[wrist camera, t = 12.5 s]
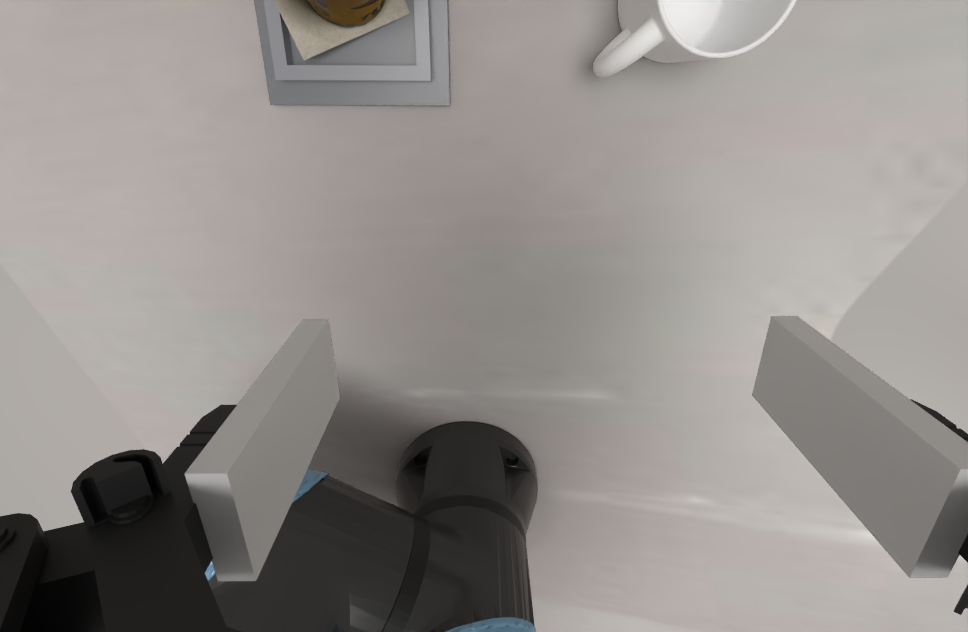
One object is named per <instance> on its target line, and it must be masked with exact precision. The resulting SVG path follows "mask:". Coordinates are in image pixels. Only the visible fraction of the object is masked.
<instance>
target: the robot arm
mask: <svg viewBox="0 0 968 632" xmlns="http://www.w3.org/2000/svg"><path fill="white" fill-rule="evenodd" d="M752 396H753V397H754V398H755V399H756V400H757V402H758V403H759V404H760V405H761V406H762V407H763V409H764V410H765V411H766V412H767V413H768V414H769V416H770V417H771V418H772V419H773V420H774V421H775V422H776V424H777V425H778V426H779V427H780V428H781V429H782V431H783V432H784V433H785V434H786V435H787V436H788V438H789V439H790V440H791V441H792V442H793V443H794V445H795V446H796V447H797V448H798V449H799V450H800V451H801V453H802V454H803V455H804V456H805V457H806V458H807V460H808V461H809V462H810V463H811V464H812V465H813V467H814V468H815V469H816V470H817V471H818V472H819V473H820V475H821V476H822V477H823V478H824V479H825V480H826V482H827V483H828V484H829V485H830V486H831V487H832V489H833V490H834V491H835V492H836V493H837V494H838V496H839V497H840V498H841V499H842V500H843V501H844V502H845V504H846V505H847V506H848V507H849V508H850V509H851V511H852V512H853V513H854V514H855V515H856V516H857V518H858V519H859V520H860V521H861V522H862V523H863V525H864V526H865V527H866V528H867V529H868V530H869V531H870V533H871V534H872V535H873V536H874V537H875V538H876V540H877V541H878V542H879V543H880V544H881V545H882V547H883V548H884V549H885V550H886V551H887V552H888V554H889V555H890V556H891V557H892V558H893V559H894V560H895V562H896V563H897V564H898V565H899V566H900V567H901V569H902V570H903V571H904V572H905V573H906V574H907V576H908V577H909V578H943V577H948V576H949V574H950V572H951V570H952V568H953V566H954V564H955V562H956V560H957V558H958V556H959V554H960V555H961V556H962V557H963V558H964V559H965V560H966V561H967V562H968V434H967V433H965V432H964V431H963V430H961V429H957V428H956V425H955V424H953V423H952V422H950V421H949V420H947V419H946V418H945V417H943V416H942V415H941V414H939V413H938V412H937V411H934V410H932V409H930V408H928V407H926V406H924V405H922V404H920V403H918V402H916V401H914V400H911V399H908V398H907V397H906V396H904V395H903V394H902V393H900V392H899V391H898V390H896V389H895V388H893V387H892V386H891V385H889V384H888V383H887V382H885V381H884V380H883V379H881V378H880V377H879V376H877V375H876V374H875V373H873V372H872V371H871V370H869V369H868V368H867V367H865V366H864V365H862V364H861V363H860V362H858V361H857V360H856V359H854V358H853V357H852V356H850V355H849V354H848V353H846V352H845V351H844V350H842V349H841V348H840V347H838V346H837V345H835V344H834V343H833V342H831V341H830V340H829V339H827V338H826V337H825V336H823V335H822V334H821V333H819V332H818V331H817V330H815V329H814V328H813V327H811V326H810V325H808V324H807V323H806V322H804V321H803V320H802V319H800V318H799V317H798V316H771V320H770V324H769V328H768V332H767V336H766V340H765V344H764V348H763V352H762V357H761V361H760V365H759V369H758V373H757V377H756V381H755V385H754V389H753V393H752ZM339 399H340V394H339V387H338V380H337V373H336V366H335V359H334V352H333V345H332V338H331V331H330V324H329V319H303V320H302V321H301V323H300V324H299V325H298V327H297V328H296V329H295V330H294V332H293V333H292V334H291V336H290V337H289V338H288V340H287V341H286V342H285V343H284V345H283V346H282V347H281V349H280V350H279V351H278V353H277V354H276V355H275V357H274V358H273V359H272V360H271V362H270V363H269V364H268V366H267V367H266V368H265V370H264V371H263V372H262V373H261V375H260V376H259V377H258V379H257V380H256V381H255V383H254V384H253V385H252V386H251V388H250V389H249V390H248V392H247V393H246V394H245V396H244V397H243V398H242V399H241V401H240V402H239V403H238V405H220V406H219V407H217V408H216V409H214V410H213V411H211V412H210V413H208V414H207V415H205V416H204V417H202V418H201V419H200V421H199V422H198V423H197V424H196V425H195V427H194V428H193V429H192V430H191V431H190V435H187V436H186V437H185V438H184V440H183V441H182V442H181V443H180V447H177V448H176V449H175V450H174V451H173V453H172V454H171V455H170V456H169V457H168V458H167V460H166V461H165V462H164V463H163V464H162V461H161V458H160V457H159V456H158V455H157V454H156V453H155V452H153V451H148V450H144V449H143V450H130V451H126V452H122V453H118V454H115V455H111V456H109V457H107V458H105V459H103V460H100V461H98V462H96V463H94V464H93V465H92V466H90V467H89V468H87V469H86V470H84V471H83V472H82V473H81V474H80V475H79V476H78V477H77V479H76V480H75V481H74V482H73V486H72V490H71V493H72V495H73V497H74V500H75V502H76V504H77V506H78V509H79V511H80V513H81V516H82V517H83V520H84V522H83V523H79V524H74V525H70V526H66V527H62V528H57V529H53V530H48V531H44V532H43V530H42V528H41V526H40V524H39V522H38V520H37V519H36V518H34V517H33V516H32V515H29V514H20V513H18V514H11V515H6V516H1V517H0V632H536V628H535V627H534V617H533V608H532V598H531V588H530V578H529V569H528V558H527V548H526V532H527V529H528V526H529V523H530V520H531V516H532V513H533V510H534V507H535V504H536V500H537V492H538V485H537V476H536V469H535V465H534V462H533V459H532V457H531V455H530V454H529V452H528V450H527V449H526V448H525V447H524V445H523V444H522V443H521V442H520V441H518V440H517V439H516V438H515V437H513V436H512V435H510V434H509V433H507V432H505V431H503V430H501V429H499V428H496V427H494V426H490V425H487V424H482V423H474V422H458V423H451V424H446V425H442V426H439V427H436V428H434V429H432V430H430V431H428V432H426V433H424V434H423V435H421V436H420V437H418V438H417V439H416V440H415V441H414V442H413V443H412V444H411V445H410V446H409V447H408V449H407V450H406V452H405V453H404V455H403V457H402V459H401V462H400V466H399V471H398V475H397V480H396V496H397V501H398V505H399V507H397V506H395V505H393V504H390V503H388V502H386V501H383V500H381V499H379V498H377V497H374V496H372V495H370V494H367V493H365V492H363V491H361V490H358V489H356V488H354V487H352V486H350V485H347V484H345V483H343V482H341V481H339V480H337V479H334V478H332V477H330V476H328V475H329V474H328V473H326V472H324V471H322V472H318V471H315V470H312V469H309V468H308V467H309V465H310V462H311V460H312V458H313V456H314V454H315V451H316V449H317V447H318V445H319V443H320V441H321V438H322V436H323V434H324V432H325V430H326V427H327V425H328V423H329V421H330V419H331V417H332V414H333V412H334V410H335V408H336V406H337V403H338V401H339ZM965 608H968V585H967V587H966V589H965V590H964V592H963V594H962V596H961V598H960V600H959V601H958V603H957V605H956V607H955V610H954V612H956V613H958V614H960V615H961V614H962V612H963V610H964V609H965Z"/></svg>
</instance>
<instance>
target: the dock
mask: <svg viewBox="0 0 968 632" xmlns="http://www.w3.org/2000/svg"><path fill="white" fill-rule="evenodd" d="M405 1H406V4H407V6H408V9H409V11H410V13H409V14H408V15H405V16H403V17H401V18H399V19H397V20H394V21H392V22H390V23H388V24H386V25H383V26H381V27H379V28H376V29H374V30H372V31H370V32H367V33H365V34H363V35H361V36H358V37H356V38H354V39H351V40H349V41H347V42H344V43H342V44H340V45H338V46H335V47H333V48H331V49H329V50H326V51H324V52H322V53H320V54H318V55H315V56H313V57H311V58H309V59H306V60H303V58H302V56H301V54H300V52H299V50H298V48H297V46H296V44H295V42H294V40H293V38H292V36H291V34H290V32H289V30H288V28H287V26H286V24H285V22H284V20H283V18H282V16H281V14H280V12H279V10H278V8H277V6H276V4H275V2H274V0H254V3H255V9H256V16H257V22H258V29H259V35H260V41H261V48H262V54H263V61H264V67H265V73H266V80H267V86H268V93H269V99H270V105H450V74H449V28H448V0H405Z"/></svg>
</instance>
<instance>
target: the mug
mask: <svg viewBox="0 0 968 632" xmlns="http://www.w3.org/2000/svg"><path fill="white" fill-rule="evenodd" d="M795 2H796V0H618V18H619V23H620V27H621V30H622V32H621V33H620V34H619V35H618V36H616V37H615V38H614V39H613V40H612V41H611V42H610V43H609V44H608V45H607V46H606V47H605V48H604V49H603V50H602V51H601V53H600V54H599V55H598V56H597V57H596V59H595V61H594V63H593V71H594V74H595V75H596V76H598V77H601V78H605V77H610V76H612V75H614V74H616V73H618V72H619V71H621V70H623V69H624V68H626V67H628V66H629V65H631V64H632V63H634V62H635V61H637V60H638V59H639V58H641V57H642V56H644V57H645V58H647V59H650V60H652V61H656V62H661V63H677V62H687V61H698V60H708V59H718V58H727V57H732V56H736V55H739V54H742V53H744V52H747V51H749V50H751V49H753V48H754V47H756V46H758V45H759V44H761V43H762V42H763V41H765V40H766V39H767V38H768V37H769V36H771V35H772V34H773V33H774V32H775V31H776V30H777V29H778V28H779V26H780V25H781V24H782V23H783V21H784V20H785V19H786V18H787V16H788V14H789V13H790V11H791V10H792V8H793V6H794V4H795Z"/></svg>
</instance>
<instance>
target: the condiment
mask: <svg viewBox="0 0 968 632" xmlns="http://www.w3.org/2000/svg"><path fill="white" fill-rule="evenodd" d="M274 2H275V4H276V6H277V8H278V10H279V12H280V14H281V16H282V18H283V20H284V22H285V24H286V26H287V28H288V30H289V32H290V34H291V36H292V38H293V40H294V42H295V44H296V46H297V48H298V50H299V52H300V54H301V56H302V58H303V60H306V59H309V58H311V57H313V56H315V55H318V54H320V53H322V52H324V51H326V50H329V49H331V48H333V47H335V46H338V45H340V44H342V43H344V42H347V41H349V40H351V39H354V38H356V37H358V36H361V35H363V34H365V33H367V32H370V31H372V30H374V29H376V28H379V27H381V26H383V25H386V24H388V23H390V22H392V21H394V20H397V19H399V18H401V17H403V16H405V15H408V14H409V13H410V11H409V9H408V6H407V4H406V1H405V0H274Z"/></svg>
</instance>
